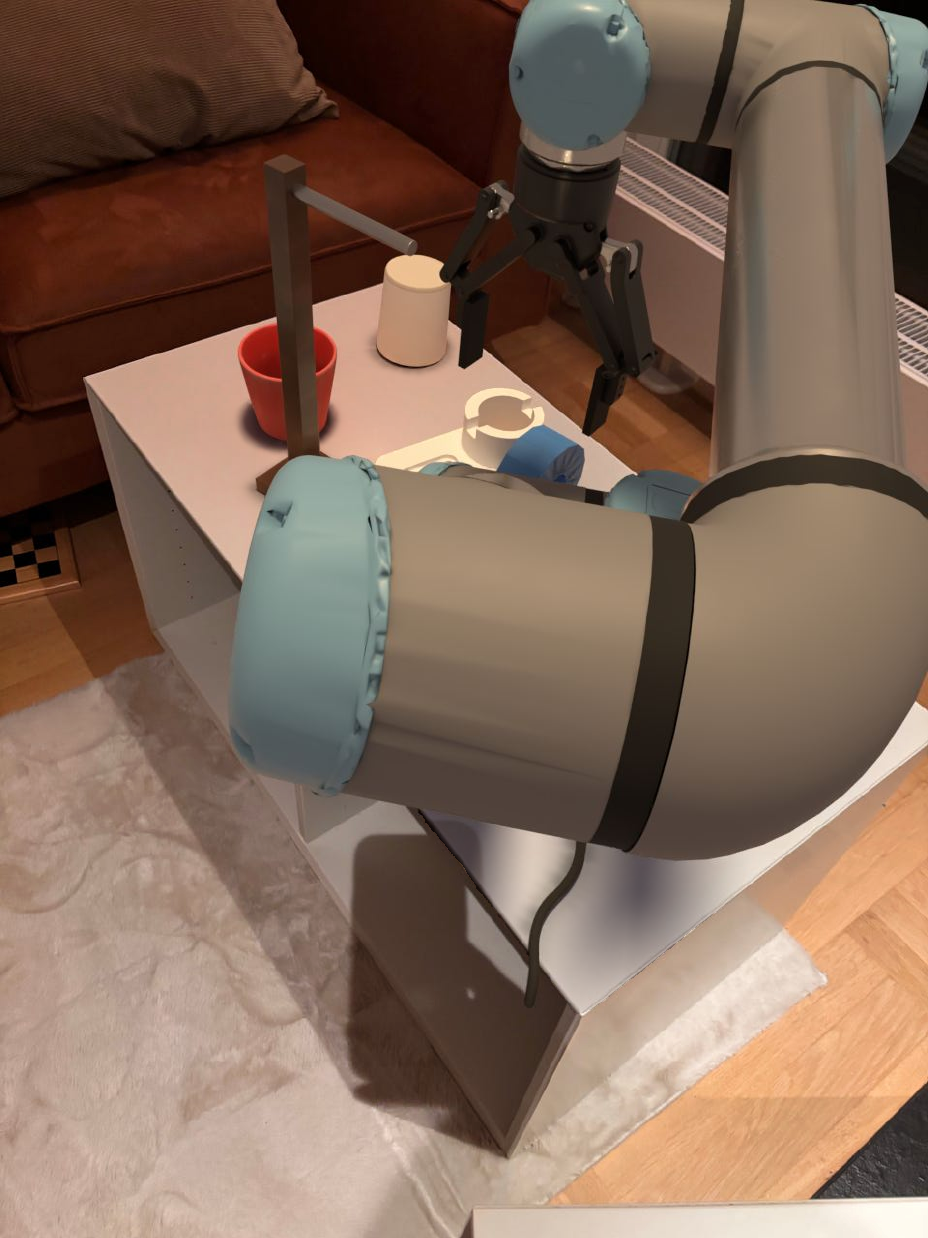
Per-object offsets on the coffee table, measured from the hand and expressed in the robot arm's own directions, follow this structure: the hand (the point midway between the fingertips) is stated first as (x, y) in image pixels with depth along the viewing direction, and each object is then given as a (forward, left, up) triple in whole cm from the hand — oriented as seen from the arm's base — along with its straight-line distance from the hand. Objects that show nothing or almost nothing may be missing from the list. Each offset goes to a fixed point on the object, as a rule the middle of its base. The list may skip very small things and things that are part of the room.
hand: (530, 394), depth 82 cm
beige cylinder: (+37, +8, -9) cm, 38 cm away
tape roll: (+3, -3, -14) cm, 14 cm away
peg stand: (+6, +17, -20) cm, 27 cm away
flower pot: (+20, +23, -20) cm, 36 cm away
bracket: (+11, +4, -20) cm, 23 cm away
